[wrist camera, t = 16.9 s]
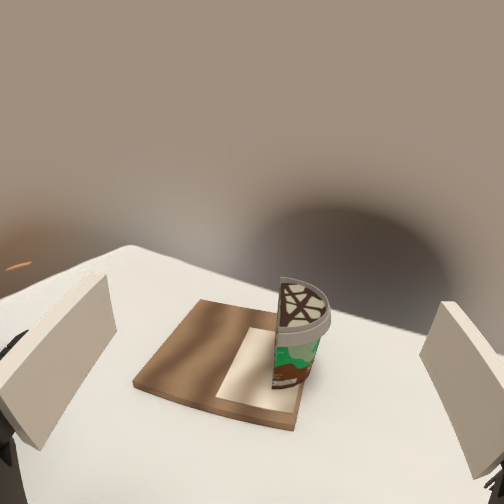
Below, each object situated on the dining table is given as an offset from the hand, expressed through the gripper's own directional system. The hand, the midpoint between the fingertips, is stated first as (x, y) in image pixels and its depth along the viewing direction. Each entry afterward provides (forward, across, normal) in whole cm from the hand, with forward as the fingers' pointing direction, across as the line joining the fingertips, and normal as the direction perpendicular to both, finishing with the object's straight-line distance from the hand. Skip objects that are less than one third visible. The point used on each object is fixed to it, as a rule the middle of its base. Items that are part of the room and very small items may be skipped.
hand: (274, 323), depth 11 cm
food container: (+20, +5, -21) cm, 30 cm away
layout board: (+23, -3, -23) cm, 33 cm away
